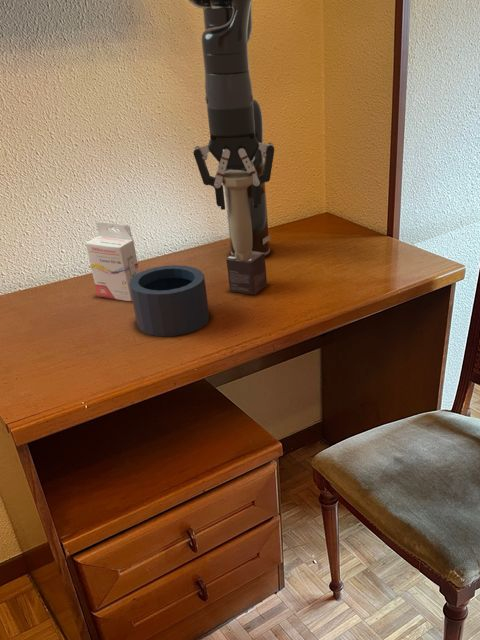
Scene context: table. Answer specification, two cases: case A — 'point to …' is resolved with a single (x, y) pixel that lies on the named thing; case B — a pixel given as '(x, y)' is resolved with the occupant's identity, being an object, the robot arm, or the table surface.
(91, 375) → the table surface
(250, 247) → the handle
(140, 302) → the jar
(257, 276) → the box
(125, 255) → the ink cartridge box
